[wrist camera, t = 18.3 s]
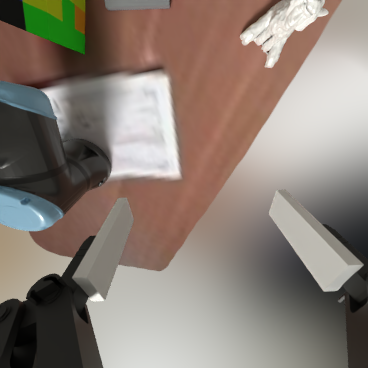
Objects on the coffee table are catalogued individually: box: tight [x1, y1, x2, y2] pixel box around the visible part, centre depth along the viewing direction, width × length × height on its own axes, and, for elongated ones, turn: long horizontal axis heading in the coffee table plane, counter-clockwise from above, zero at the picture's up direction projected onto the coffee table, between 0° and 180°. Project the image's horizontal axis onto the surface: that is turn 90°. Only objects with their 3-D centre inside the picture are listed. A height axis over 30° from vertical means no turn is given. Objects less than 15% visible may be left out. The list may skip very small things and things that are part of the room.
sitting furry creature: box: [240, 0, 328, 68], centre depth 26 cm, size 10×9×12 cm
